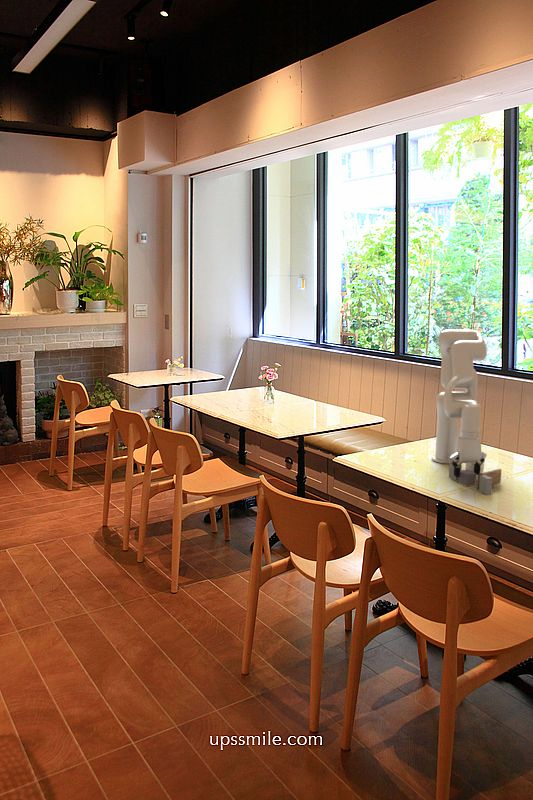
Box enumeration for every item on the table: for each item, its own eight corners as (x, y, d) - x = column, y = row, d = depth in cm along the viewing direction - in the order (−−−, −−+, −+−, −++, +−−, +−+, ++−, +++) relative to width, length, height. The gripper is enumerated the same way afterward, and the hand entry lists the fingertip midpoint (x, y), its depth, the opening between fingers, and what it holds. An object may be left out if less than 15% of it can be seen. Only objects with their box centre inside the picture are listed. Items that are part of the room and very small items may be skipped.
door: (500, 484, 304) (501, 469, 303) (479, 490, 296) (480, 474, 294) (497, 483, 305) (498, 468, 304) (476, 489, 297) (477, 473, 296)
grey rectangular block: (466, 481, 309) (467, 469, 308) (475, 485, 303) (476, 473, 302) (457, 482, 307) (458, 470, 306) (466, 486, 302) (466, 474, 301)
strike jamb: (453, 476, 315) (454, 461, 313) (460, 480, 310) (461, 464, 309) (448, 477, 314) (449, 462, 312) (455, 480, 309) (456, 465, 308)
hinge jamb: (483, 490, 296) (485, 474, 295) (491, 494, 292) (492, 478, 290) (478, 491, 295) (479, 475, 294) (486, 494, 291) (487, 478, 290)
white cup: (461, 475, 317) (463, 452, 315) (479, 474, 318) (481, 452, 316) (468, 480, 309) (469, 457, 307) (486, 480, 310) (488, 457, 308)
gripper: (481, 430, 308) (478, 470, 311) (446, 434, 302) (443, 474, 305) (493, 435, 301) (490, 476, 305) (457, 438, 295) (454, 480, 298)
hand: (466, 475), depth 305 cm, fingers open, 9 cm apart
